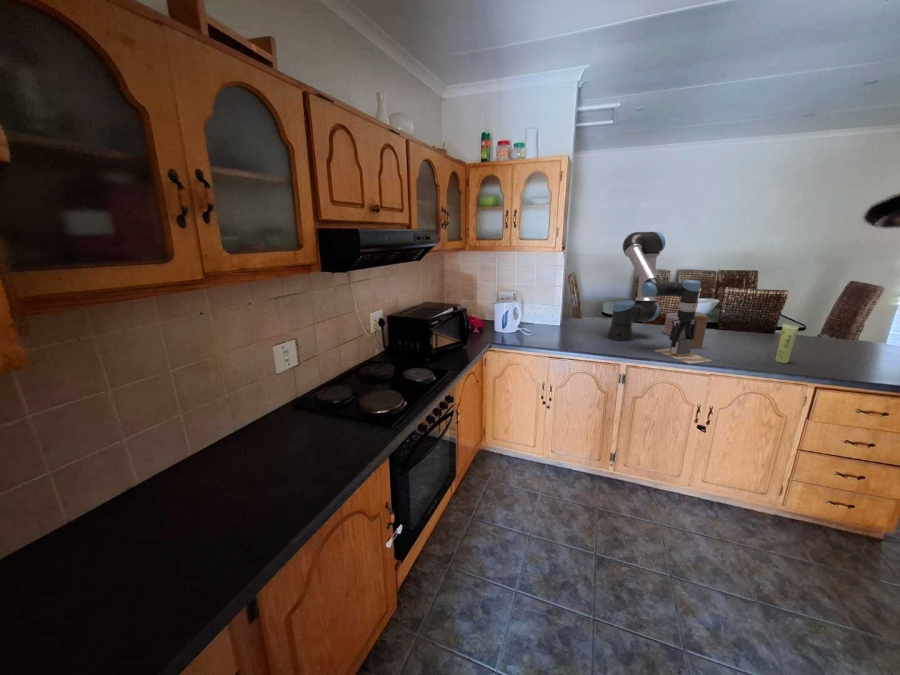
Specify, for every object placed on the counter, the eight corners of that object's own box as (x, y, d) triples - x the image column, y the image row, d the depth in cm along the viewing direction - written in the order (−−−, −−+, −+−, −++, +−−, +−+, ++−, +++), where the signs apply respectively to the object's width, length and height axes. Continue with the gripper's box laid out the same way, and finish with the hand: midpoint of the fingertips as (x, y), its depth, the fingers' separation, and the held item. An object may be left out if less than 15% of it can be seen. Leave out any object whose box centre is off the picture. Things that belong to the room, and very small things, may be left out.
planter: (687, 333, 234) (691, 314, 230) (688, 338, 223) (691, 318, 219) (663, 330, 241) (667, 312, 237) (662, 335, 230) (666, 316, 226)
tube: (773, 361, 182) (783, 324, 177) (773, 359, 186) (783, 322, 180) (788, 364, 179) (799, 326, 173) (788, 361, 182) (798, 324, 177)
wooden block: (702, 350, 201) (709, 315, 195) (682, 349, 203) (689, 315, 197) (694, 344, 210) (700, 311, 204) (675, 343, 212) (681, 311, 206)
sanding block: (669, 352, 193) (671, 338, 191) (679, 351, 195) (682, 337, 192) (679, 356, 187) (681, 341, 185) (689, 354, 189) (692, 340, 187)
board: (653, 352, 198) (653, 350, 198) (674, 349, 202) (674, 347, 202) (689, 365, 178) (689, 363, 178) (711, 362, 182) (712, 360, 182)
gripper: (678, 313, 178) (670, 356, 185) (708, 310, 184) (700, 352, 190) (665, 310, 185) (658, 351, 192) (695, 307, 191) (687, 348, 197)
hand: (679, 352), depth 191 cm, fingers closed on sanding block, 7 cm apart
